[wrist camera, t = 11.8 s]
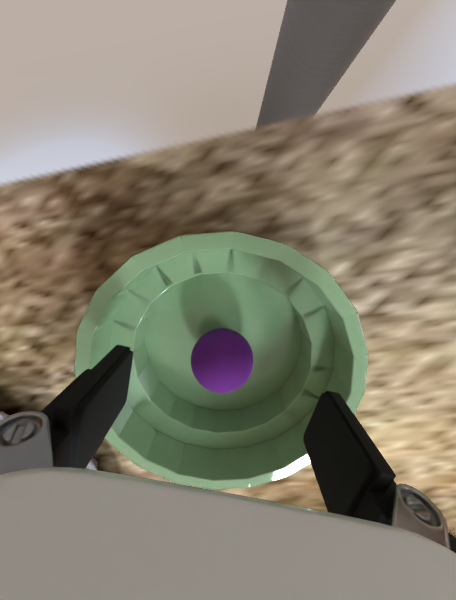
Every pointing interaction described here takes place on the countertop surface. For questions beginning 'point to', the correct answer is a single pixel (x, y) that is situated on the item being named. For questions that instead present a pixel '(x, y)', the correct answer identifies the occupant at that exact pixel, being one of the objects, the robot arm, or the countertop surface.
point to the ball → (222, 360)
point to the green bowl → (246, 321)
